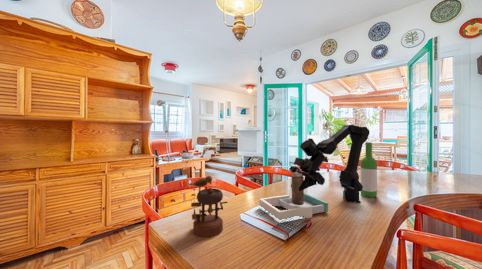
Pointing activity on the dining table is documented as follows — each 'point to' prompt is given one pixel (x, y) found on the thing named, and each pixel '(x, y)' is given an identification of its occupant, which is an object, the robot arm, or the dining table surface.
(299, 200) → the pepper mill
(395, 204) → the dining table surface
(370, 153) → the wine bottle
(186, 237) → the dining table surface
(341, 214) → the dining table surface
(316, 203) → the grey tray
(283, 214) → the tray sleeve
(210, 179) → the music box
